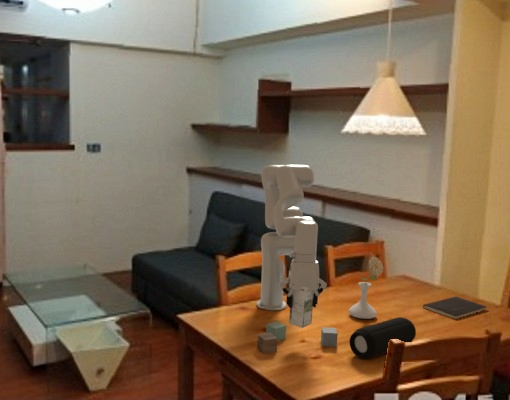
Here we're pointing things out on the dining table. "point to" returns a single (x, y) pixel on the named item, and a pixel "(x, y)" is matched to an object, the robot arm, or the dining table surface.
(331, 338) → the slate grey cube
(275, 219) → the robot arm
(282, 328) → the sage green cube
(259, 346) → the walnut cube
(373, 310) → the flower in vase
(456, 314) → the hardcover book
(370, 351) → the portable speaker
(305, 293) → the syrup box
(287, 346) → the dining table surface
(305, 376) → the dining table surface
